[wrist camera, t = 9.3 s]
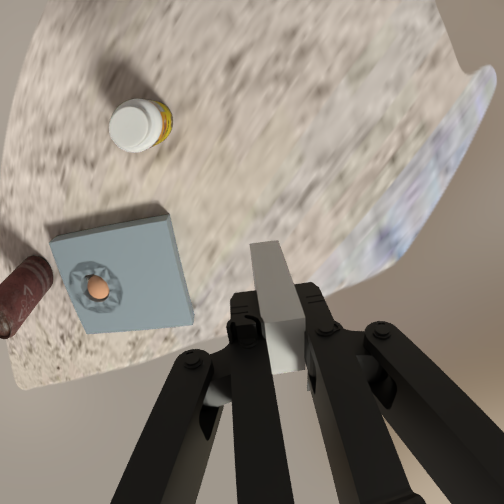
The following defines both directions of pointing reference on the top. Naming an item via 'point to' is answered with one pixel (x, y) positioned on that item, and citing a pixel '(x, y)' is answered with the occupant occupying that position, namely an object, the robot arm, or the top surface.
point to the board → (126, 276)
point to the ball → (98, 287)
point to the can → (22, 293)
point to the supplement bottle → (140, 124)
